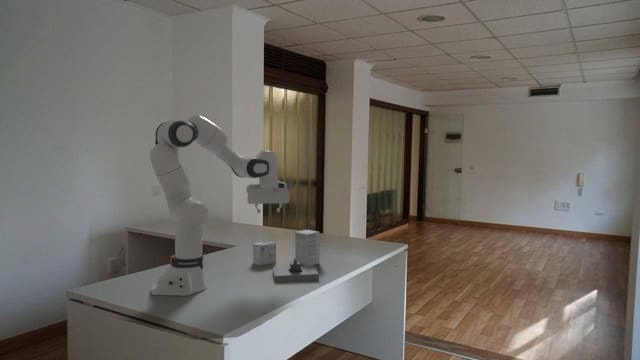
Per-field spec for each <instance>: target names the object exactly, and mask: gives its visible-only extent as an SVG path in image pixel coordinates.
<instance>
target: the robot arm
mask: <svg viewBox="0 0 640 360" xmlns="http://www.w3.org/2000/svg"><path fill="white" fill-rule="evenodd" d="M154 135H155V141H154V142H155V143H154V144H155V145H154V146H153V147H152V148H151V149H150V151H149V158H150V163H151V166H152V168H153V171H154V173H155V176H156V177H157V180H158V182H159V184H160V186H161V189H162V190H163V193H164V196H165V200H166V205H167V206H168V210H169V214H170V216H171V217H172V218H173V219H174V220H175V221H177V222H178V229H177V234H176V236H175V239H174V246H175V248H174V249H175V254H172V255H171V256H170V266H168V267H167V268H166V269H165V270H163V271H162V272H161V273H159V275H158V277H157V281H156V284H154V285H153V286H152V287H151V289H150V294H151V295H152V296H185V297H186V296H191V295H193V294H197V293H199V292H200V293H201V292H202V291H203V290H206V289H207V287H208V286H207V283H206V279H205V274H204V267H205V265H204V264H205V260H204V259H205V258H204V254H203V234H204V231H205V226H206V225H205V224H206V222H207V221H208V219H209V210H208V208H207V206H205V204H204V203H203V202H202V201H200V200H198V199H195V198H194V196H193V194H192V191H191V187H190V183H191V182H190V180H189V176H188V175H187V172H186V171H185V168H184V166H183V163H182V162H181V159H180V156H179V148H186V147H188V146H189V145H191V144H192V143H194V142H196V144H198V145H199V146H201V148H204V149H205V150H207V151H208V152H210V153H212V154H214V155H215V156H217V158H219V159H221V160H222V162H224V163H225V164H226V165H228V166H229V167H230V169H231V171H232V172H233V174H234V175H235V176H236V177H238V178H247V179H259V180H258V181H259V182H258V184H253V183H251V184H249V185H247V186H246V193H247V199H246V201H247V203H248V204H249V205H252V204H253V205H254V207H255V208H256V212H257V213H256V214H260V213H261V208H259V204H260V205H263V204H265V205H266V204H278V206H279V207H278V208H276V213H277V214H279V213H280V212H281V209H282V207H283V204H289V203H290V200H291V198H290V191H289V189H288V187H287V186H288V184H287V183H286V182H283V181H281V180H279V179H278V169H279V165H278V164H279V162H278V156H277V153H276V152H275V151H273V150H266V149H261V150H260V152H258V153H257V154H255V155H254V156H251V157H249V156H242V155H239V154H237V153H236V152H235V151H233V150H232V149H231V147H228V146H227V145H228V136H227V133H226V132H224V131H223V129H222V128H220V126H218V125H216V124H215V122H212V121H210V120H209V119H208V118H206V117H203V116H202V115H199V114H193V115H191V116H189V117H188V119H187V120H169V121H165V122H163V123H161V124H159V125H158V126H157V128H156V129H155V134H154Z"/></svg>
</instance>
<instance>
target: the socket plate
mask: <svg viewBox="0 0 640 360" xmlns="http://www.w3.org/2000/svg"><path fill="white" fill-rule="evenodd" d="M272 274H273V278H274V279H273V280H274V282H275V283H292V282H293V283H294V282H295V283H296V282H310V281H311V282H312V281H315V282H316V281H320V277H319V276H320V274H319V271H318V270H317V268H316V266H315V265H311V266H303V265H301V271H300V272H294V273H290V266H273V267H272Z"/></svg>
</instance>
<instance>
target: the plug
mask: <svg viewBox="0 0 640 360" xmlns="http://www.w3.org/2000/svg"><path fill="white" fill-rule="evenodd" d="M301 266H302V265H301V264H300V262H297V259H296V258H293V261H289V267H290V273H294V272H300V271H301Z"/></svg>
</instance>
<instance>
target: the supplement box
mask: <svg viewBox="0 0 640 360" xmlns="http://www.w3.org/2000/svg"><path fill="white" fill-rule="evenodd" d="M294 235H295V238H294V239H295V240H294V242H295V243H294V244H295V247H294V248H295V251H294V252H295V253H294V255H295V258H296V259H297V262H300V264H301V266H315V265H318V264H320V260H321V259H320V231H316V230H311V229H303V230H298V231H295V232H294Z"/></svg>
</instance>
